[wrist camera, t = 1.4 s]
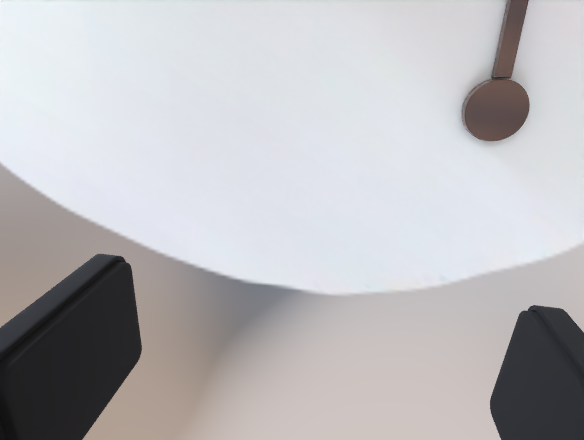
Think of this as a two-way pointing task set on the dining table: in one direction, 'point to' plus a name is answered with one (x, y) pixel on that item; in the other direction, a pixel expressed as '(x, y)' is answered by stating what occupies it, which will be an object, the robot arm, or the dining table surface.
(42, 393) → the robot arm
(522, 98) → the wooden spoon
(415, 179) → the dining table surface
